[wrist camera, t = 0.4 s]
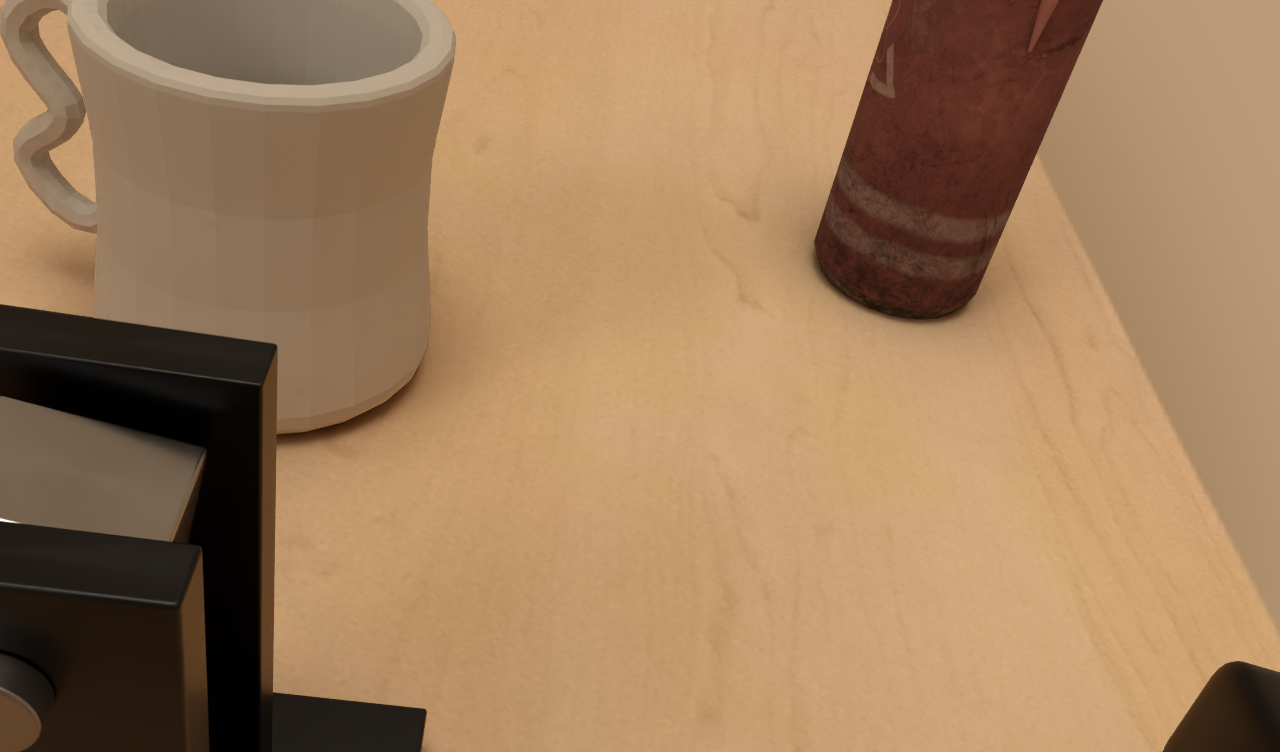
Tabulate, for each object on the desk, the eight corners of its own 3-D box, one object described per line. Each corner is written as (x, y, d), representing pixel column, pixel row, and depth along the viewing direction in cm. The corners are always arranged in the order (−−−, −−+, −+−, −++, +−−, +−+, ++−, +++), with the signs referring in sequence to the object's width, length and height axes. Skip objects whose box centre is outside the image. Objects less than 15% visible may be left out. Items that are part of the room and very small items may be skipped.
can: (856, 332, 42) (1009, -81, 33) (785, 229, 46) (903, -156, 38) (1005, 326, 44) (1184, -63, 35) (923, 229, 48) (1064, -136, 40)
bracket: (-315, 1125, 18) (-644, 636, 12) (-76, 690, 25) (-200, 209, 18) (358, 1166, 20) (412, 747, 13) (422, 742, 26) (482, 312, 19)
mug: (477, 316, 38) (518, 9, 32) (330, 494, 31) (347, 143, 25) (129, 192, 40) (106, -122, 34) (-87, 334, 33) (-164, -31, 27)
